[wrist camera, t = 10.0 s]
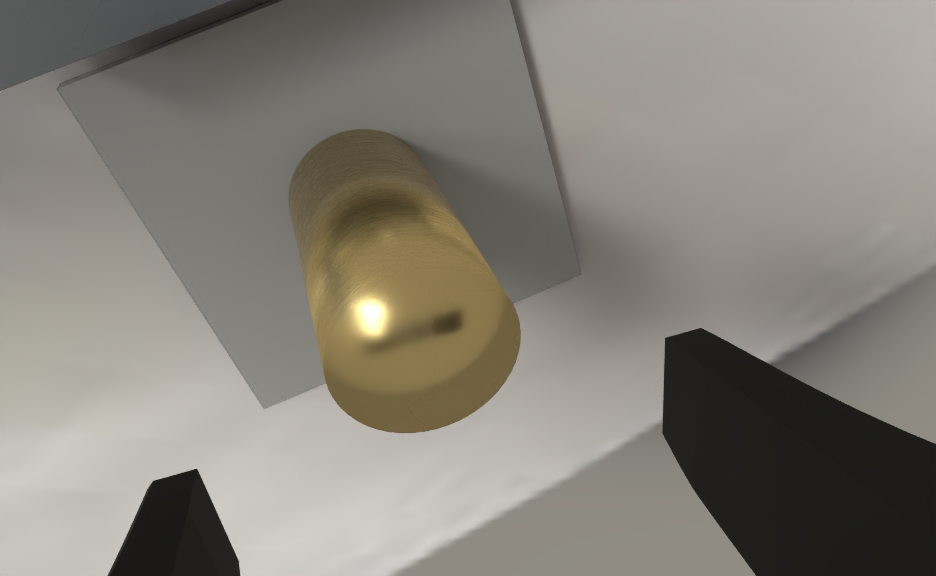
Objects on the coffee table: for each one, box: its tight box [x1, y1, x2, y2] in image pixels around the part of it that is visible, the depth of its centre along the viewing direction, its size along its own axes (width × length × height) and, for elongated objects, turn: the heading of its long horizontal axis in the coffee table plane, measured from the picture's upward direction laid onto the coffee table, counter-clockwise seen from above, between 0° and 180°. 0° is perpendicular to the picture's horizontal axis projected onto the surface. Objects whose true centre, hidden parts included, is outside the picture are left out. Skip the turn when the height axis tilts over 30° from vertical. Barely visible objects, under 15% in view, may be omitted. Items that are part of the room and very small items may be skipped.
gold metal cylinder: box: [289, 129, 520, 433], centre depth 17 cm, size 4×4×7 cm
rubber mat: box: [57, 0, 581, 409], centre depth 20 cm, size 10×10×1 cm
